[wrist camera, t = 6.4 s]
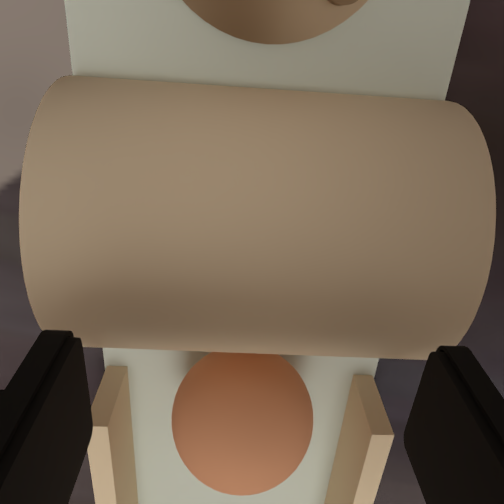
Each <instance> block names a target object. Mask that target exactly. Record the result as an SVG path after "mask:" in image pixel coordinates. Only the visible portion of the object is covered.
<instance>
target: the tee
mask: <svg viewBox="0 0 504 504" xmlns="http://www.w3.org/2000/svg"><path fill="white" fill-rule="evenodd" d="M183 1H184V3H185V4H186V5H187V6H188V7H189V8H190V9H191V10H192V11H193V12H195V13H196V14H197V15H198V16H199V17H201V18H202V19H203V20H204V21H205V22H207V23H209V24H210V25H212V26H213V27H215V28H217V29H218V30H220V31H222V32H224V33H226V34H229V35H231V36H233V37H235V38H239V39H242V40H245V41H249V42H254V43H261V44H288V43H295V42H300V41H304V40H307V39H310V38H314V37H316V36H318V35H321V34H323V33H325V32H327V31H330V30H331V29H333V28H334V27H336V26H338V25H339V24H341V23H343V22H344V21H346V20H347V19H348V18H349V17H350V16H352V15H353V14H354V13H355V12H357V11H358V10H359V9H360V8H361V7H362V6H363V5H364V4H365V3H366V2H367V1H368V0H183Z"/></svg>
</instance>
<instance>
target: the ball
mask: <svg viewBox="0 0 504 504" xmlns="http://www.w3.org/2000/svg"><path fill="white" fill-rule="evenodd" d="M312 431H313V408H312V402H311V398H310V395H309V392H308V390H307V388H306V385H305V383H304V381H303V379H302V378H301V376H300V375H299V373H298V372H297V371H296V370H295V368H294V367H293V366H292V365H291V364H290V363H289V362H288V361H286V360H285V359H284V358H282V357H281V356H280V355H278V354H256V353H230V352H211V353H209V354H208V355H206V356H204V357H203V358H202V359H200V360H199V361H198V362H197V363H196V364H195V365H194V366H193V367H192V368H191V369H190V370H189V372H188V373H187V374H186V376H185V377H184V378H183V380H182V382H181V384H180V386H179V388H178V390H177V393H176V395H175V399H174V403H173V408H172V433H173V438H174V442H175V445H176V449H177V451H178V453H179V456H180V458H181V459H182V461H183V463H184V464H185V466H186V467H187V468H188V469H189V471H190V472H191V473H192V474H193V475H194V476H195V477H196V478H197V479H198V480H199V481H201V482H202V483H203V484H205V485H206V486H208V487H210V488H212V489H214V490H216V491H219V492H221V493H225V494H230V495H239V496H244V495H253V494H259V493H262V492H265V491H268V490H270V489H272V488H274V487H276V486H277V485H279V484H281V483H282V482H283V481H285V480H286V479H287V478H288V477H289V476H290V475H291V474H292V473H293V472H294V471H295V470H296V469H297V467H298V466H299V464H300V463H301V462H302V460H303V458H304V456H305V454H306V452H307V450H308V447H309V444H310V441H311V437H312Z"/></svg>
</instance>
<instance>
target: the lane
mask: <svg viewBox="0 0 504 504" xmlns="http://www.w3.org/2000/svg"><path fill="white" fill-rule="evenodd" d="M64 2H65V12H66V21H67V30H68V39H69V47H70V57H71V66H72V75H69V76H63V77H61V78H59V79H57V80H56V81H55V82H54V83H53V84H52V85H51V86H50V87H49V89H48V90H47V92H46V93H45V95H44V96H43V98H42V100H41V102H40V104H39V106H38V108H37V111H36V113H35V116H34V119H33V122H32V125H31V128H30V132H29V136H28V140H27V144H26V149H25V156H24V161H23V167H22V175H21V185H20V200H19V239H20V251H21V262H22V268H23V275H24V281H25V286H26V290H27V294H28V298H29V302H30V305H31V307H32V310H33V313H34V316H35V318H36V320H37V322H38V324H39V326H40V328H41V330H42V331H43V330H69V331H72V333H73V335H74V337H78V338H81V341H82V346H83V347H99V348H103V356H104V365H105V373H104V375H103V378H102V380H101V383H100V386H99V388H98V391H97V393H96V396H95V399H94V401H93V404H92V406H91V412H92V419H93V431H92V437H91V440H90V443H89V446H88V449H87V450H88V457H89V463H90V470H91V477H92V483H93V490H94V496H95V503H96V504H373V503H374V500H375V497H376V493H377V490H378V487H379V484H380V480H381V477H382V474H383V471H384V467H385V464H386V461H387V458H388V454H389V451H390V448H391V445H392V441H393V438H394V433H393V430H392V428H391V425H390V422H389V419H388V417H387V414H386V411H385V408H384V406H383V403H382V400H381V398H380V395H379V392H378V389H377V387H376V384H375V381H374V376H375V373H376V369H377V365H378V361H379V358H387V359H413V360H427V359H428V356H429V354H430V353H431V352H433V351H434V352H436V350H437V348H438V347H439V346H442V345H444V346H457V345H458V343H459V342H460V341H461V339H462V338H463V337H464V335H465V334H466V333H467V331H468V329H469V327H470V325H471V324H472V322H473V320H474V318H475V315H476V313H477V311H478V308H479V306H480V303H481V301H482V297H483V294H484V291H485V288H486V285H487V281H488V276H489V272H490V267H491V263H492V256H493V249H494V241H495V227H496V193H495V183H494V174H493V168H492V163H491V158H490V154H489V150H488V147H487V144H486V141H485V138H484V136H483V133H482V131H481V129H480V127H479V125H478V123H477V122H476V120H475V119H474V117H473V116H472V114H471V113H470V112H469V111H468V110H467V109H466V108H465V107H463V106H461V105H460V104H458V103H455V102H451V101H445V98H446V94H447V90H448V86H449V82H450V78H451V75H452V71H453V67H454V63H455V59H456V55H457V51H458V47H459V43H460V39H461V35H462V31H463V27H464V24H465V20H466V16H467V12H468V8H469V4H470V0H368V1H367V2H366V3H365V4H364V5H363V6H362V7H361V8H360V9H359V10H358V11H357V12H355V13H354V14H353V15H352V16H350V17H349V18H348V19H347V20H346V21H344V22H343V23H341V24H339V25H338V26H336V27H334V28H333V29H331V30H330V31H327V32H325V33H323V34H321V35H318V36H316V37H314V38H310V39H307V40H304V41H300V42H295V43H288V44H261V43H254V42H249V41H245V40H242V39H239V38H235V37H233V36H231V35H229V34H226V33H224V32H222V31H220V30H218V29H217V28H215V27H213V26H212V25H210V24H209V23H207V22H205V21H204V20H203V19H202V18H201V17H199V16H198V15H197V14H196V13H195V12H193V11H192V10H191V9H190V8H189V7H188V6H187V5H186V4H185V3H184V1H183V0H64ZM211 352H230V353H256V354H278V355H280V356H281V357H282V358H284V359H285V360H286V361H288V362H289V363H290V364H291V365H292V366H293V367H294V368H295V370H296V371H297V372H298V373H299V375H300V376H301V378H302V379H303V381H304V383H305V385H306V388H307V390H308V392H309V395H310V398H311V402H312V408H313V431H312V437H311V441H310V444H309V447H308V450H307V452H306V454H305V456H304V458H303V460H302V462H301V463H300V464H299V466H298V467H297V469H296V470H295V471H294V472H293V473H292V474H291V475H290V476H289V477H288V478H287V479H286V480H285V481H283V482H282V483H281V484H279V485H277V486H276V487H274V488H272V489H270V490H268V491H265V492H262V493H259V494H253V495H244V496H239V495H230V494H225V493H221V492H219V491H216V490H214V489H212V488H210V487H208V486H206V485H205V484H203V483H202V482H201V481H199V480H198V479H197V478H196V477H195V476H194V475H193V474H192V473H191V472H190V471H189V469H188V468H187V467H186V466H185V464H184V463H183V461H182V459H181V458H180V456H179V453H178V451H177V449H176V445H175V442H174V438H173V433H172V408H173V403H174V399H175V395H176V393H177V390H178V388H179V386H180V384H181V382H182V380H183V378H184V377H185V376H186V374H187V373H188V372H189V370H190V369H191V368H192V367H193V366H194V365H195V364H196V363H197V362H198V361H199V360H200V359H202V358H203V357H204V356H206V355H208V354H209V353H211Z"/></svg>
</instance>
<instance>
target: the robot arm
mask: <svg viewBox="0 0 504 504" xmlns="http://www.w3.org/2000/svg"><path fill="white" fill-rule="evenodd" d="M92 431H93V419H92V412H91V405H90V398H89V390H88V383H87V376H86V368H85V361H84V354H83V346H82V341H81V338H78V337H74V335H73V333H72V331H69V330H43V331H42V332H41V333H40V335H39V336H38V338H37V340H36V341H35V343H34V344H33V346H32V347H31V349H30V351H29V352H28V354H27V355H26V357H25V359H24V360H23V362H22V363H21V365H20V366H19V368H18V370H17V371H16V373H15V374H14V376H13V377H12V379H11V381H10V382H9V384H8V385H7V387H6V388H5V390H0V504H68V502H69V499H70V496H71V494H72V491H73V488H74V485H75V482H76V480H77V477H78V474H79V471H80V468H81V466H82V463H83V460H84V457H85V454H86V451H87V449H88V446H89V443H90V440H91V437H92ZM404 445H405V449H406V451H407V454H408V457H409V459H410V462H411V465H412V467H413V470H414V473H415V475H416V478H417V480H418V483H419V486H420V488H421V491H422V494H423V496H424V499H425V501H426V504H504V399H503V397H502V396H501V394H500V393H499V391H498V390H497V388H496V387H495V386H494V384H493V383H492V381H491V380H490V378H489V377H488V375H487V374H486V372H485V371H484V370H483V368H482V367H481V365H480V364H479V362H478V361H477V359H476V358H475V356H474V355H473V354H472V352H471V351H470V350H469V348H467V347H465V346H444V345H442V346H439V347H438V348H437V350H436V352H434V351H433V352H431V353H430V354H429V356H428V359H427V362H426V366H425V369H424V372H423V375H422V378H421V381H420V384H419V388H418V391H417V394H416V397H415V400H414V403H413V406H412V409H411V413H410V416H409V419H408V422H407V425H406V428H405V431H404Z"/></svg>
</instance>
